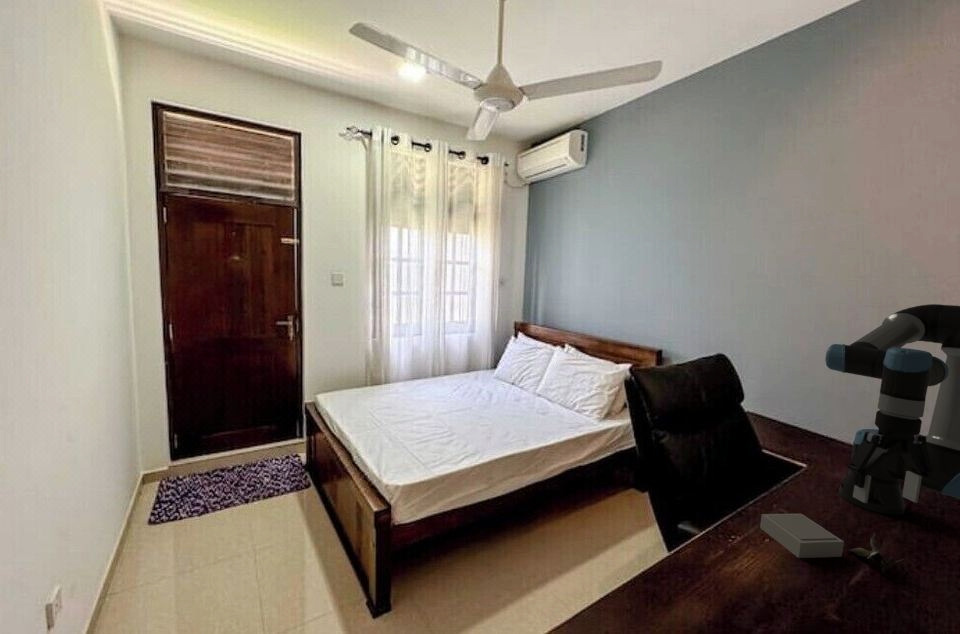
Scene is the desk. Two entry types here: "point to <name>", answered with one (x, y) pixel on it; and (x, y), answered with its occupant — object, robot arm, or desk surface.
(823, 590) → the desk surface
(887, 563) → the eagle figurine
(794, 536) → the tray
